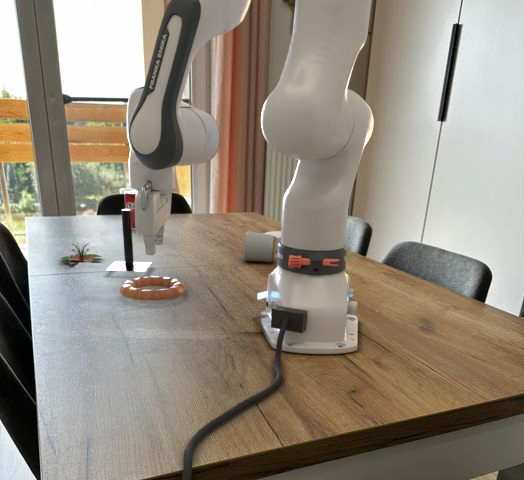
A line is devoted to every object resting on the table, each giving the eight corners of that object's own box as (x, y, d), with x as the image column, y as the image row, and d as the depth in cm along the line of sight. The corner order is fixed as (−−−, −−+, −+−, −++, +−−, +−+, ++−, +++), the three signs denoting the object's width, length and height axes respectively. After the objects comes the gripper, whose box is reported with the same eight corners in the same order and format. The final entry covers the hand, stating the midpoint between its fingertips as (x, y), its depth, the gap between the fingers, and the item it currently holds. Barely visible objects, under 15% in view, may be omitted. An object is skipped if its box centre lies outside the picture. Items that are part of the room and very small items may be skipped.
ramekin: (298, 251, 151) (299, 236, 150) (270, 252, 148) (271, 237, 146) (286, 245, 159) (286, 230, 157) (259, 246, 156) (259, 231, 154)
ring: (182, 308, 99) (181, 293, 98) (114, 306, 98) (113, 291, 97) (189, 289, 111) (189, 275, 110) (129, 287, 110) (128, 273, 109)
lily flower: (66, 269, 122) (64, 250, 120) (49, 259, 130) (47, 241, 128) (114, 263, 129) (113, 245, 127) (95, 254, 137) (93, 237, 136)
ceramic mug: (274, 265, 134) (276, 235, 131) (243, 263, 134) (244, 233, 131) (276, 257, 143) (278, 229, 140) (247, 255, 144) (248, 227, 141)
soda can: (125, 226, 177) (123, 190, 172) (147, 226, 179) (145, 190, 174) (127, 230, 171) (124, 193, 166) (149, 230, 173) (147, 193, 168)
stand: (145, 278, 118) (142, 213, 112) (105, 276, 118) (100, 211, 112) (152, 268, 126) (149, 207, 120) (115, 267, 126) (110, 206, 120)
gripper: (160, 185, 91) (162, 262, 97) (175, 175, 110) (176, 240, 115) (124, 183, 91) (128, 260, 96) (146, 173, 110) (148, 238, 115)
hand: (154, 249), depth 106 cm, fingers open, 8 cm apart
